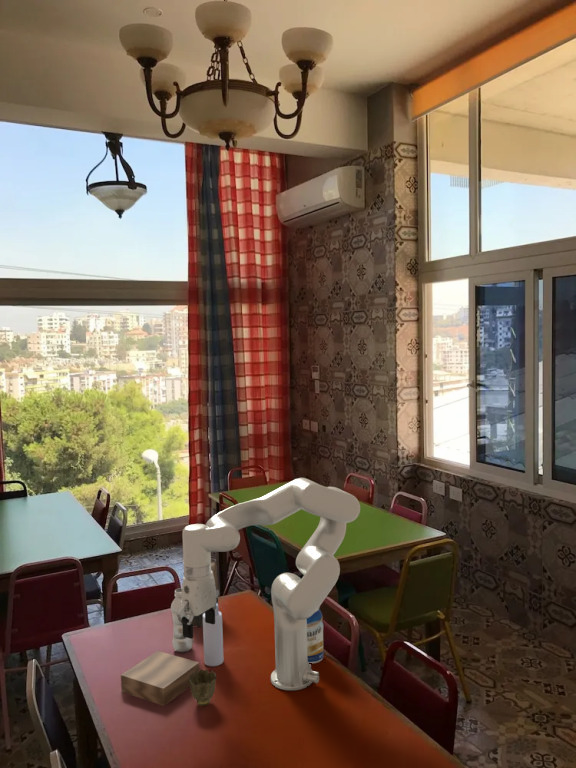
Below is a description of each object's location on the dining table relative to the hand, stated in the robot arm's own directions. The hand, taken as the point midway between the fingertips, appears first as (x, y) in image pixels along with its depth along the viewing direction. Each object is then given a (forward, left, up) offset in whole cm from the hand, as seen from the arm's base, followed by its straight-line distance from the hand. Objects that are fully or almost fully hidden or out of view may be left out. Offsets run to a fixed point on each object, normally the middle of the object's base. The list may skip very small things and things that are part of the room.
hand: (199, 630), depth 176 cm
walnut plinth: (+16, -1, -21) cm, 26 cm away
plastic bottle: (+24, -21, -21) cm, 38 cm away
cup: (-1, +1, -21) cm, 21 cm away
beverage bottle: (-16, -35, -21) cm, 44 cm away
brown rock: (+30, -41, -21) cm, 55 cm away
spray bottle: (+10, -19, -21) cm, 30 cm away
